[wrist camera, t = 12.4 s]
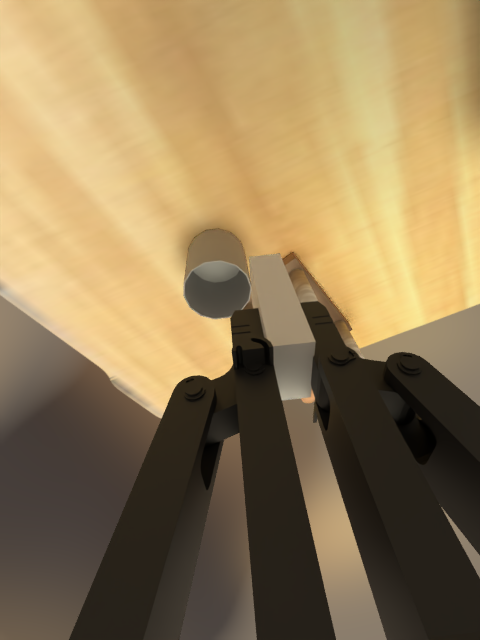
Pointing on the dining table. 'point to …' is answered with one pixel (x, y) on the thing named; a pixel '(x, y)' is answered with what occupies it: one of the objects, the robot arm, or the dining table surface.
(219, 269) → the cup
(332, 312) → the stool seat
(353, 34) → the dining table surface
